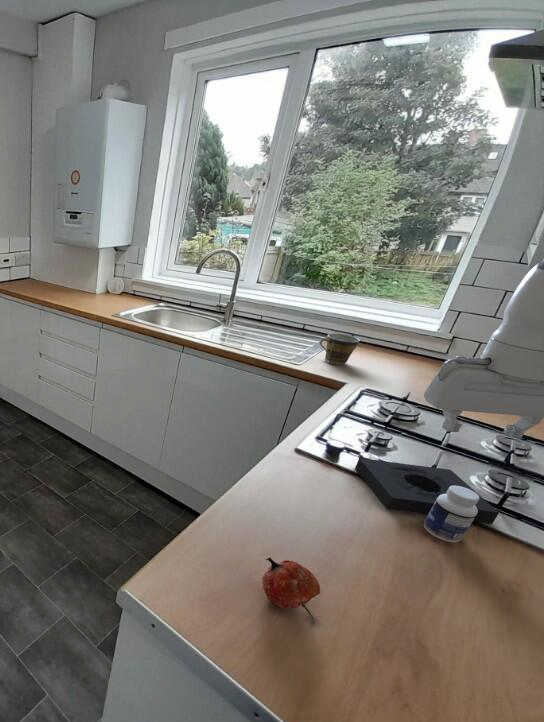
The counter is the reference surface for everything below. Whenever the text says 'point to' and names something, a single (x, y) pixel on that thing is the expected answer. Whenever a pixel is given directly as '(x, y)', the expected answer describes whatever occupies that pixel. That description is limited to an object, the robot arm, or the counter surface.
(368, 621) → the counter surface
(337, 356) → the ceramic cup
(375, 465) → the black pad
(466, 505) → the pill bottle
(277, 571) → the pomegranate
